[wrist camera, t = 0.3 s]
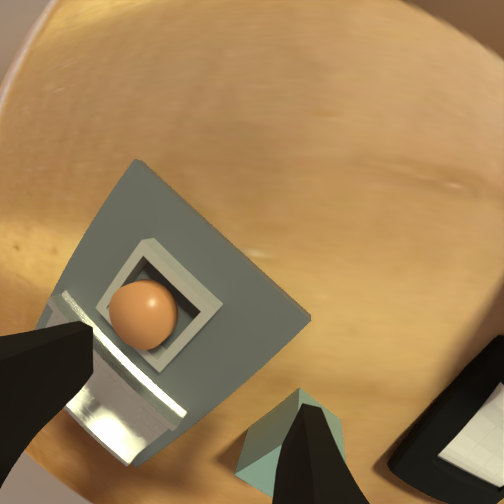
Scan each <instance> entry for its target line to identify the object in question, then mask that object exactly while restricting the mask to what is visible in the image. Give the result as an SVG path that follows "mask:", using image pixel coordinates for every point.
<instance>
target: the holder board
mask: <svg viewBox="0 0 504 504" xmlns="http://www.w3.org/2000/svg"><path fill="white" fill-rule="evenodd" d="M150 238H155V239H156V240H157V241H158V242H159V243H160V244H161V245H162V246H163V247H164V248H165V249H166V250H167V251H168V252H169V253H170V254H171V255H172V256H173V257H174V258H175V259H176V260H177V261H178V262H179V263H180V264H181V265H182V266H183V267H184V268H185V269H186V270H188V271H189V272H190V273H191V274H192V275H193V276H194V277H195V278H196V279H197V280H198V281H199V282H200V283H201V284H202V285H203V286H204V287H206V288H207V289H208V290H209V291H210V292H211V293H212V294H213V295H214V296H215V297H216V298H217V299H219V300H220V301H221V302H222V303H223V305H222V306H221V307H220V308H219V309H218V311H217V312H216V313H215V314H214V315H213V316H212V317H211V318H210V319H209V320H208V321H207V322H206V324H205V325H204V326H203V327H202V328H201V329H200V330H199V331H198V332H197V333H196V334H195V335H194V336H193V338H192V339H191V340H190V341H189V342H188V343H187V344H186V345H185V346H184V347H183V348H182V349H181V350H180V351H179V353H178V354H177V355H176V356H175V357H174V358H173V359H172V360H171V361H170V362H169V363H168V364H167V365H166V366H165V367H164V369H163V370H162V371H161V372H160V373H159V372H158V371H157V370H156V369H155V368H154V367H153V366H152V365H151V364H150V363H148V362H147V361H146V360H145V359H144V358H143V357H142V356H141V355H140V354H139V353H138V352H137V351H136V350H135V349H134V348H133V347H131V346H129V345H128V344H126V343H125V342H124V341H123V340H122V339H121V338H120V337H119V336H118V335H117V333H116V332H115V330H114V329H113V326H112V325H111V324H110V323H109V322H108V321H107V320H106V319H105V318H104V317H103V316H102V315H101V314H100V312H99V311H98V310H97V309H96V306H97V304H98V303H99V301H100V300H101V298H102V297H103V295H104V294H105V292H106V291H107V289H108V288H109V286H110V285H111V283H112V282H113V280H114V279H115V277H116V276H117V274H118V273H119V271H120V270H121V268H122V267H123V266H124V264H125V263H126V261H127V260H128V258H129V257H130V256H131V254H132V253H133V251H134V250H135V249H136V247H137V246H138V244H139V243H140V242H141V240H144V239H150ZM141 279H151V280H154V281H157V282H159V283H161V284H162V285H164V286H165V287H166V288H167V289H168V290H169V291H170V292H171V294H172V295H173V297H174V299H175V301H176V303H177V307H178V314H179V316H178V323H177V326H176V328H175V330H174V331H173V333H172V334H171V335H169V336H168V337H167V338H166V339H165V340H164V341H163V342H162V343H160V344H161V345H162V346H163V347H164V348H165V349H166V350H167V349H168V348H169V347H170V346H171V344H172V343H173V342H174V341H175V340H176V339H177V338H178V337H179V336H180V334H181V333H182V332H183V331H184V330H185V329H186V328H187V327H188V326H189V324H190V323H191V322H192V321H193V320H194V319H195V318H196V317H197V316H198V314H199V313H200V312H201V311H200V310H199V309H198V308H197V307H196V306H195V305H193V304H192V303H191V302H190V301H189V300H188V299H187V298H186V297H185V296H184V295H183V294H182V293H181V292H180V291H179V290H178V289H177V288H176V287H175V286H174V285H173V284H171V283H170V282H169V281H168V280H167V279H166V278H165V277H164V276H163V275H162V274H161V273H160V272H159V271H158V270H157V269H156V268H155V267H154V266H153V265H152V264H151V263H150V262H149V261H148V262H147V264H146V265H145V266H144V268H143V269H142V270H141V272H140V273H139V274H138V276H137V277H136V279H135V280H134V281H133V282H135V281H138V280H141ZM67 288H68V290H69V291H70V292H71V293H72V294H73V296H74V297H75V298H76V299H77V300H78V302H79V303H80V304H81V305H82V306H83V307H84V309H85V310H86V311H87V312H88V313H89V314H90V315H91V316H92V318H93V319H94V320H95V321H96V322H97V323H98V324H99V325H100V326H101V327H102V329H103V330H104V331H105V332H106V333H107V334H108V335H109V336H110V337H111V338H112V339H113V340H114V341H115V342H116V343H117V344H118V345H119V346H120V347H121V348H122V349H123V351H124V352H125V353H126V354H127V355H128V356H129V357H131V358H132V359H133V360H134V361H135V362H136V363H137V364H138V365H139V366H140V367H141V368H142V369H143V370H144V371H145V372H146V373H147V374H148V375H149V376H150V377H151V378H153V379H154V380H155V381H156V382H157V383H158V384H159V385H160V386H161V387H162V388H164V389H165V390H166V391H167V392H168V393H169V394H170V395H172V396H173V397H174V398H175V399H176V400H177V401H178V402H180V403H181V404H182V405H183V406H184V407H186V408H187V409H188V410H189V412H188V413H187V414H186V415H185V416H184V417H183V419H182V421H181V422H180V424H179V425H178V427H177V428H176V429H175V430H173V431H171V430H170V429H168V430H167V431H165V432H164V433H163V434H162V435H160V436H159V437H158V438H157V439H156V440H154V441H153V442H152V443H151V444H149V445H148V446H147V447H146V448H144V449H143V450H142V451H140V452H139V453H138V454H137V455H136V457H135V458H134V459H133V461H132V462H131V463H132V464H133V465H134V466H135V467H139V466H140V465H141V464H143V463H144V462H146V461H147V460H148V459H150V458H151V457H152V456H154V455H155V454H157V453H158V452H159V451H161V450H162V449H163V448H165V447H166V446H167V445H169V444H170V443H171V442H173V441H174V440H175V439H176V438H178V437H179V436H180V435H182V434H183V433H184V432H186V431H187V430H188V429H189V428H191V427H192V426H193V425H194V424H196V423H197V422H198V421H199V420H201V419H202V418H203V417H204V416H206V415H207V414H208V413H209V412H210V411H212V410H213V409H214V408H215V407H216V406H218V405H219V404H220V403H221V402H222V401H224V400H225V399H226V398H227V397H228V396H230V395H231V394H232V393H233V392H234V391H235V390H237V389H238V388H239V387H240V386H241V385H242V384H243V383H245V382H246V381H247V380H248V379H249V378H250V377H251V376H253V375H254V374H255V373H256V372H257V371H258V370H259V369H260V368H261V367H263V366H264V365H265V364H266V363H267V362H268V361H269V360H270V359H271V358H272V357H273V356H275V355H276V354H277V353H278V352H279V351H280V350H281V349H282V348H283V347H284V346H285V345H286V344H287V343H288V342H289V341H291V340H292V339H293V338H294V337H295V336H296V335H297V334H298V333H299V332H300V331H301V330H302V329H303V328H304V327H305V326H306V325H307V324H308V323H309V322H310V321H311V315H310V314H309V313H308V312H307V311H306V310H305V309H304V308H302V307H301V306H300V305H299V304H298V303H297V302H296V301H295V300H294V299H292V298H291V297H290V296H289V295H288V294H287V293H286V292H285V291H284V290H283V289H281V288H280V287H279V286H278V285H277V284H276V283H275V282H274V281H273V280H272V279H270V278H269V277H268V276H267V275H266V274H265V273H264V272H263V271H262V270H261V269H259V268H258V267H257V266H256V265H255V264H254V263H253V262H252V261H251V260H250V259H248V258H247V257H246V256H245V255H244V254H243V253H242V252H241V251H240V250H239V249H237V248H236V247H235V246H234V245H233V244H232V243H231V242H230V241H229V240H228V239H227V238H225V237H224V236H223V235H222V234H221V233H220V232H219V231H218V230H217V229H216V228H215V227H213V226H212V225H211V224H210V223H209V222H208V221H207V220H206V219H205V218H204V217H203V216H201V215H200V214H199V213H198V212H197V211H196V210H195V209H194V208H193V207H192V206H191V205H189V204H188V203H187V202H186V201H185V200H184V199H183V198H182V197H181V196H180V195H179V194H177V193H176V192H175V191H174V190H173V189H172V188H171V187H170V186H169V185H168V184H167V183H166V182H164V181H163V180H162V179H161V178H160V177H159V176H158V175H157V174H156V173H155V172H154V171H153V170H151V169H150V168H149V167H148V166H147V165H146V164H145V163H144V162H143V161H140V160H137V159H134V161H133V162H132V163H131V165H130V166H129V168H128V169H127V170H126V172H125V173H124V175H123V176H122V177H121V179H120V180H119V182H118V183H117V185H116V186H115V187H114V189H113V190H112V192H111V193H110V195H109V196H108V198H107V199H106V201H105V202H104V204H103V205H102V207H101V209H100V210H99V212H98V213H97V215H96V216H95V218H94V220H93V221H92V223H91V224H90V226H89V228H88V229H87V231H86V233H85V234H84V236H83V238H82V239H81V241H80V243H79V244H78V246H77V248H76V250H75V251H74V253H73V255H72V257H71V258H70V260H69V262H68V264H67V266H66V267H65V269H64V271H63V273H62V275H61V277H60V279H59V281H58V283H57V284H56V286H55V288H54V290H53V292H52V294H51V296H50V297H52V296H54V295H57V294H60V293H63V292H64V290H65V289H67ZM52 313H53V310H52V309H51V308H50V307H49V305H48V304H46V307H45V309H44V311H43V313H42V315H41V317H40V319H39V322H38V324H37V326H36V328H35V330H38V329H42V328H45V327H46V325H47V323H48V321H49V319H50V317H51V315H52Z"/></svg>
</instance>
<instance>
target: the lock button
mask: <svg viewBox="0 0 504 504" xmlns="http://www.w3.org/2000/svg"><path fill="white" fill-rule="evenodd" d="M109 316H110V321H111V324H112V326H113V329H114V330H115V332H116V333H117V335H118V336H119V337H120V338H121V339H122V340H123V341H124V342H125V343H126V344H128V345H129V346H131V347H133V348H136V349H141V350H148V349H152V348H155V347H157V346H158V345H159V344H160V343H162V342H163V341H164V340H165V339H166V338H167V337H168V336H169V335H171V334H172V333H173V331H174V330H175V328H176V326H177V323H178V316H179V314H178V307H177V303H176V301H175V299H174V297H173V295H172V294H171V292H170V291H169V290H168V289H167V288H166V287H165V286H164V285H162V284H161V283H159V282H157V281H154V280H151V279H141V280H138V281H135V282H133V283H130V284H128V285H125V286H123V287H121V288H119V289H118V290H117V291H116V292H115V293H114V294H113V296H112V298H111V301H110V305H109Z"/></svg>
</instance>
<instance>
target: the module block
mask: <svg viewBox="0 0 504 504" xmlns="http://www.w3.org/2000/svg"><path fill="white" fill-rule="evenodd" d="M302 403H304V404H309V405H313V406H317V407H321V408H322V410H323V412H324V415H325V417H326V420H327V423H328V425H329V428H330V430H331V432H332V435H333V437H334V440H335V442H336V444H337V446H338V449H339V451H340V453H341V455H342V457H343V459H344V461H345V463H346V458H345V449H344V441H343V433H342V425H341V419H339V418H338V417H337V416H335V415H334V414H333V413H331V412H330V411H329V410H328V409H326V408H325V407H324V406H322V405H321V404H320V403H319V402H317V401H316V400H315V399H314V398H312V397H311V396H310V395H309V394H307V393H306V392H305V391H304V390H302V389H301V388H300V387H299V388H298V389H297V390H296V391H295V392H293V393H292V394H291V395H290V396H289V397H287V398H286V399H285V400H284V401H282V402H281V403H280V404H279V405H277V406H276V407H275V408H274V409H272V410H271V411H270V412H268V413H267V414H266V415H265V416H263V417H262V418H261V419H259V420H258V421H257V422H255V423H254V424H253V425H251V426H250V427H249V428H248V431H247V434H246V438H245V441H244V444H243V447H242V451H241V454H240V457H239V460H238V464H237V467H236V470H235V473H234V475H236V476H237V477H239V478H240V479H242V480H244V481H245V482H247V483H248V484H250V485H252V486H253V487H255V488H257V489H258V490H260V491H262V492H263V493H265V494H267V495H268V496H270V497H272V498H273V491H274V482H275V473H276V467H277V463H278V459H279V454H280V450H281V446H282V443H283V441H284V439H285V437H286V435H287V433H288V431H289V429H290V427H291V425H292V423H293V421H294V419H295V417H296V415H297V413H298V411H299V409H300V407H301V405H302Z"/></svg>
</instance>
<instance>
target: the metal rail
mask: <svg viewBox="0 0 504 504" xmlns="http://www.w3.org/2000/svg"><path fill="white" fill-rule="evenodd" d="M47 304H48V305H49V307H50V308H51V309H52V310H53V313H52V315H51V317H50V319H49V321H48V323H47V325H46V327H45V328H47V327H51V326H55V325H60V324H64V323H69V322H75V321H81V322H83V323H85V324H87V325H89V326H92V327H93V369H94V373H93V374H92V376H91V377H90V378H89V380H88V381H87V382H86V384H85V385H84V386H83V388H82V389H81V390H80V391H79V393H78V394H77V395H76V396H75V397H74V398H73V399H72V400H71V401H70V402H69V403H68V404H67V405H66V406H65V407H63V408H64V409H65V410H66V411H67V412H68V413H69V414H70V415H71V416H72V417H73V418H74V419H75V420H76V421H77V422H78V423H79V424H80V425H81V426H82V427H83V428H84V429H85V430H86V431H87V432H88V433H89V434H90V435H91V436H92V437H93V438H94V439H95V440H96V441H97V442H98V443H100V444H101V445H102V446H103V447H104V448H105V449H106V450H107V451H109V452H110V453H111V454H112V455H113V456H114V457H116V458H117V459H118V460H119V461H120V462H121V463H123V464H124V465H125V466H126V467H127V466H128V465H130V463H131V462H132V461H133V459H134V458H135V457H136V455H137V454H138V453H139V452H140V451H142V450H143V449H144V448H146V447H147V446H148V445H149V444H151V443H152V442H153V441H154V440H156V439H157V438H158V437H159V436H160V435H162V434H163V433H164V432H165V431H167V430H168V429H170V430H171V431H173V430H175V429H176V428H177V427H178V425H179V424H180V422H181V421H182V419H183V417H184V416H185V415H186V414H187V413H188V412H189V410H188V409H187V408H186V407H184V406H183V405H182V404H181V403H180V402H178V401H177V400H176V399H175V398H174V397H173V396H172V395H170V394H169V393H168V392H167V391H166V390H165V389H164V388H162V387H161V386H160V385H159V384H158V383H157V382H156V381H155V380H154V379H153V378H151V377H150V376H149V375H148V374H147V373H146V372H145V371H144V370H143V369H142V368H141V367H140V366H139V365H138V364H137V363H136V362H135V361H134V360H133V359H132V358H131V357H129V356H128V355H127V354H126V353H125V352H124V351H123V349H122V348H121V347H120V346H119V345H118V344H117V343H116V342H115V341H114V340H113V339H112V338H111V337H110V336H109V335H108V334H107V333H106V332H105V331H104V330H103V329H102V327H101V326H100V325H99V324H98V323H97V322H96V321H95V320H94V319H93V318H92V316H91V315H90V314H89V313H88V312H87V311H86V310H85V309H84V307H83V306H82V305H81V304H80V303H79V302H78V300H77V299H76V298H75V297H74V296H73V294H72V293H71V292H70V291H69V290H68V288H67V289H65V290H64V292H63V293H60V294H57V295H54V296H52V297H49V299H48V301H47Z"/></svg>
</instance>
